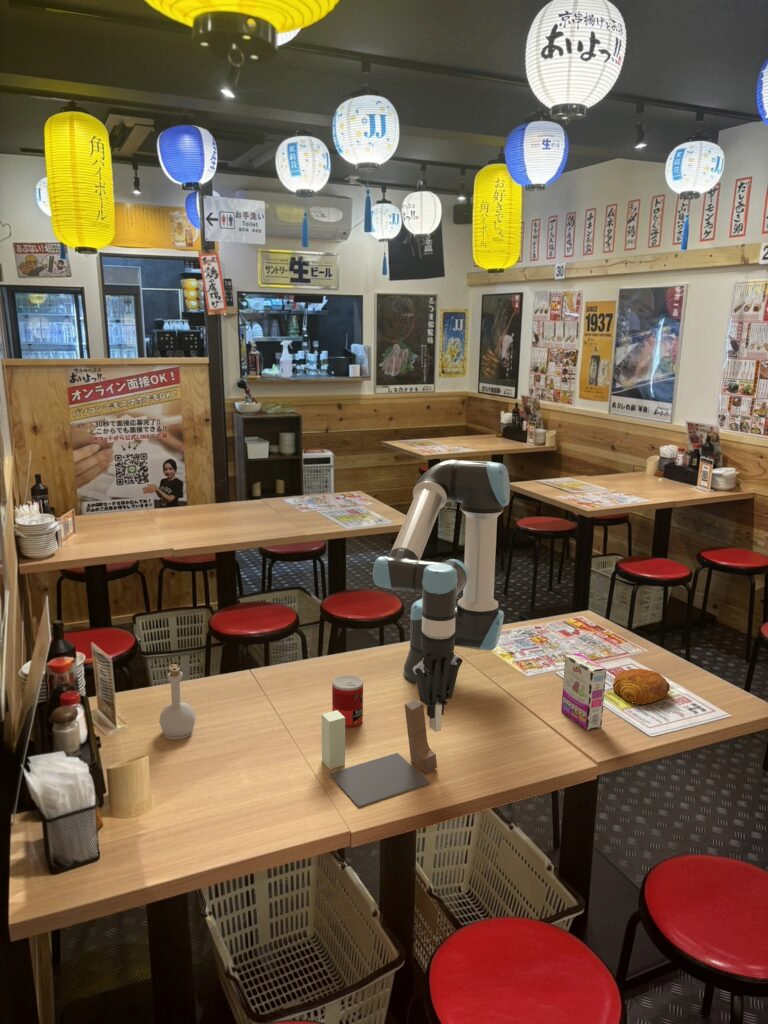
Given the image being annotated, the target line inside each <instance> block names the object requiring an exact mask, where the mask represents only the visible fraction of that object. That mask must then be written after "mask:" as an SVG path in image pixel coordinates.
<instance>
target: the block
mask: <svg viewBox="0 0 768 1024" xmlns="http://www.w3.org/2000/svg"><path fill="white" fill-rule="evenodd" d="M321 761H322V763H323V764H324V766H325V767H327V768H328V769H329V770H333V769H336V768H339V767H342V766H345V765H346V727H345V717H344V716H343V715H342V714H341V713H340V712H339V711H338V710H336V711H328V712H325V713H321Z"/></svg>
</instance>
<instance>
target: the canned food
mask: <svg viewBox="0 0 768 1024" xmlns="http://www.w3.org/2000/svg"><path fill="white" fill-rule="evenodd" d="M331 686H332V687H331V694H332V695H331V697H332V698H331V701H332V702H331V703H332V704H331V705H332V707H331V708H332V709H331V710H332V711H336V710H338V711H339V712H340V713H341V714H342V715H343V716H344V717H345V729H346V728H354V727H358V726H359V725H360V724H362V722H363V719H364V718H363V717H364V681H363V680H362V679H361V678H360V677H358V676H354V675H340V676H337V677H335V678H334V679H333V680H332V685H331ZM332 711H331V712H332Z"/></svg>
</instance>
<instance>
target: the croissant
mask: <svg viewBox="0 0 768 1024" xmlns="http://www.w3.org/2000/svg"><path fill="white" fill-rule="evenodd" d="M612 689H613V692H614V693H615V694H616V693H617V694H618V695H621V696H620V697H621V698H622V699H623V698H624V700H626V701H627V702H629V701H630V702H629V703H632V702H633V703H632V704H634V703H635V704H634V705H638V704H643V705H647V703H649V704H651V703H654V702H656V701H658V699H659V700H660V698H661V699H662V697H663V698H664V697H666V696H667V694H668V693H669V692H670V689H671V688H670V683H669V681H667V679H666V678H665V677H664V676H663V675H661V674H660V673H659V672H657V671H654V670H652V669H651V670H650V669H647V668H646V669H645V668H644V669H643V668H631V669H627V670H623V671H619V672H618V673H617V674H616V675H615V676H614V680H613V683H612ZM617 694H616V695H617ZM618 695H617V696H618Z"/></svg>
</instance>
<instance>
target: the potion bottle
mask: <svg viewBox="0 0 768 1024" xmlns="http://www.w3.org/2000/svg"><path fill="white" fill-rule="evenodd" d="M183 674H184V673H183V672H182V671H181V667H178V664H176V663H173V664H169V672H168V673H167V674H166V675H167V679H168V680H167V681H168V682H169V683H170V693H171V694H170V695H171V703H168V704H167V705H166V706H165V707H164V708H163V709H162V711H161V712H160V716H159V721H158V722H159V724H160V725H159V726H160V728H161V731H162V734H163V735H164V737H165V739H168V740H171V741H177V740H183V739H186V738H188V737H189V736H191V735H192V732H193V730H194V727H195V725H196V719H197V716H196V713H195V710H194V708H192V706H191V705H190V704H188V703H187V702H184V701H182V699H181V697H182V696H181V681H182V680H183V676H184V675H183Z"/></svg>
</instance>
